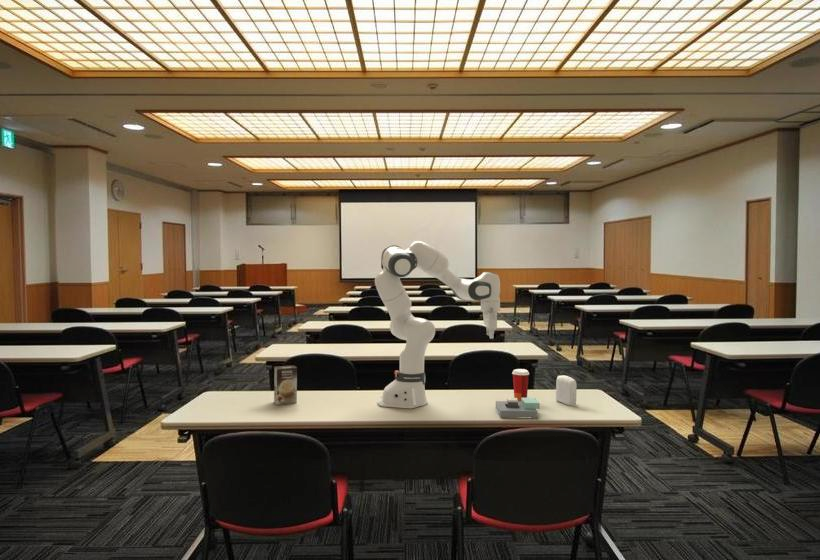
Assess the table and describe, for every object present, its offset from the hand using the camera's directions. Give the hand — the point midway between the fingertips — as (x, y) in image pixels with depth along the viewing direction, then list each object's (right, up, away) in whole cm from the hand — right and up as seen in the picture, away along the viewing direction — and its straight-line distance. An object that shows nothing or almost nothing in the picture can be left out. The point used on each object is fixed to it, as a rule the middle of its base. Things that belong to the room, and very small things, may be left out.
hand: (490, 336), depth 231 cm
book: (+34, -30, -5) cm, 45 cm away
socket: (+8, -30, -20) cm, 37 cm away
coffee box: (-93, -29, -6) cm, 98 cm away
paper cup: (+14, -30, -1) cm, 32 cm away
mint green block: (+14, -27, -20) cm, 36 cm away
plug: (+6, -30, -20) cm, 37 cm away
